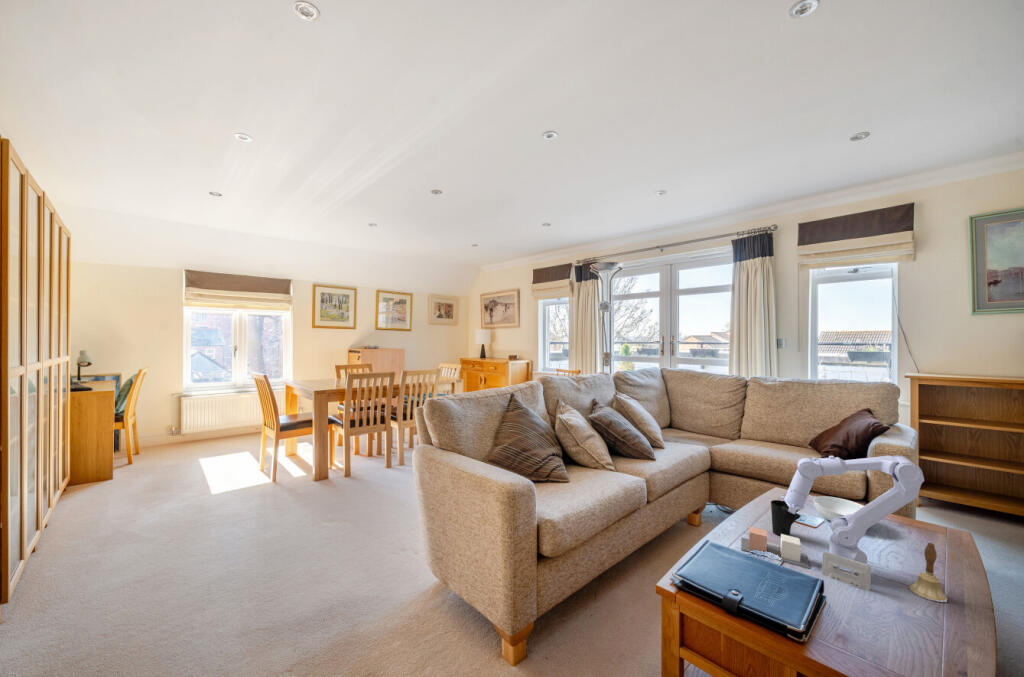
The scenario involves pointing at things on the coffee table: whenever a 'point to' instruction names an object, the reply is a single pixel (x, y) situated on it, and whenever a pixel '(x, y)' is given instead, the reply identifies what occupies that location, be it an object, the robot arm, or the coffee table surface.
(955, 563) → the coffee table surface
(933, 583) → the hand bell
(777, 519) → the cup
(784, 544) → the cream block
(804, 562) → the charcoal mat
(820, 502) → the serving bowl
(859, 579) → the cassette
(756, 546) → the terracotta cover
